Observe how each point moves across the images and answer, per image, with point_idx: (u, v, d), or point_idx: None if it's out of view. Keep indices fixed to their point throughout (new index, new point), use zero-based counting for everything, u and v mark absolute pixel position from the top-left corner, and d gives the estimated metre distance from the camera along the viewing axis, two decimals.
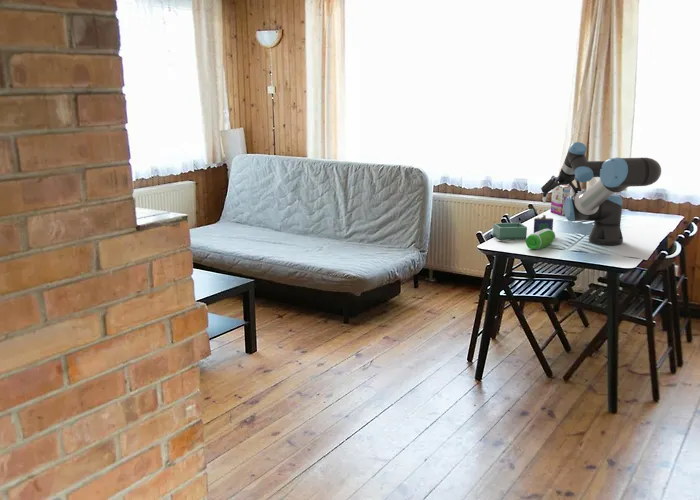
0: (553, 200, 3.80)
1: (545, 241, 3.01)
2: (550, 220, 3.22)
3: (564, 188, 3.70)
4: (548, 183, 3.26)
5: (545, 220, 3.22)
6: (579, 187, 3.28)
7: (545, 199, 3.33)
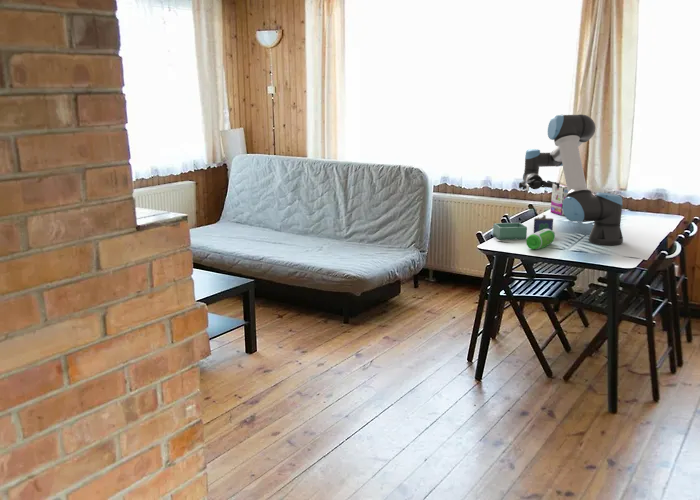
0: (553, 200, 3.80)
1: (545, 241, 3.01)
2: (550, 220, 3.22)
3: (564, 188, 3.70)
4: None
5: (545, 220, 3.22)
6: None
7: (527, 184, 3.31)
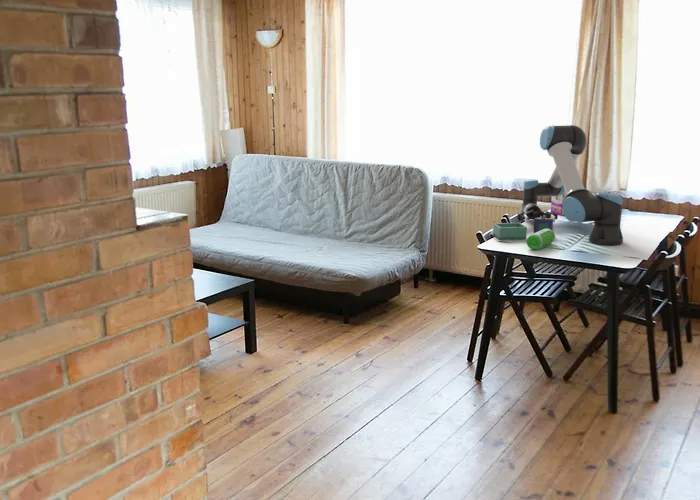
0: (553, 200, 3.80)
1: (546, 241, 3.01)
2: (550, 220, 3.22)
3: None
4: None
5: (545, 220, 3.22)
6: (553, 213, 3.40)
7: (525, 216, 3.33)
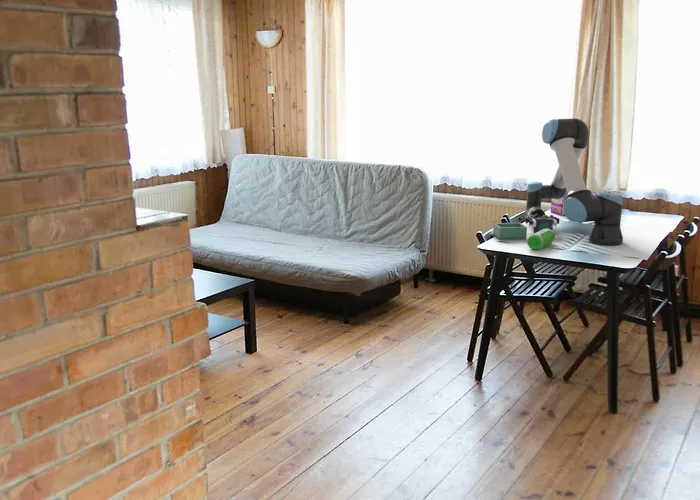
0: (553, 200, 3.80)
1: (546, 241, 3.01)
2: (550, 220, 3.22)
3: None
4: None
5: (545, 220, 3.22)
6: (556, 217, 3.28)
7: (534, 220, 3.21)
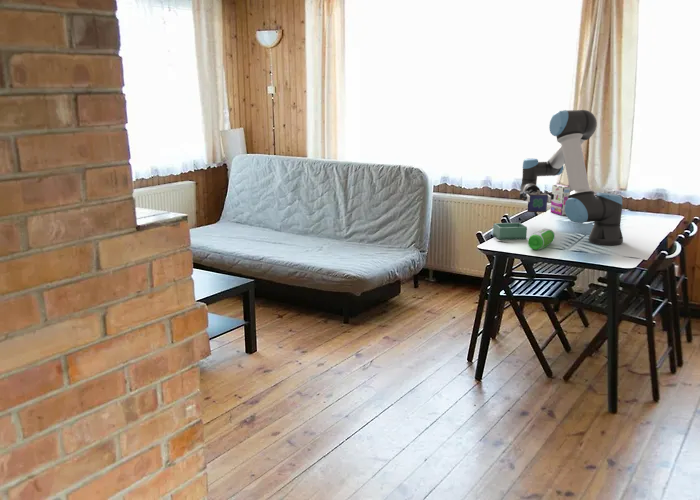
0: (553, 200, 3.80)
1: (547, 241, 3.01)
2: (544, 195, 3.20)
3: (564, 188, 3.70)
4: None
5: (539, 195, 3.20)
6: (550, 193, 3.26)
7: (528, 195, 3.19)
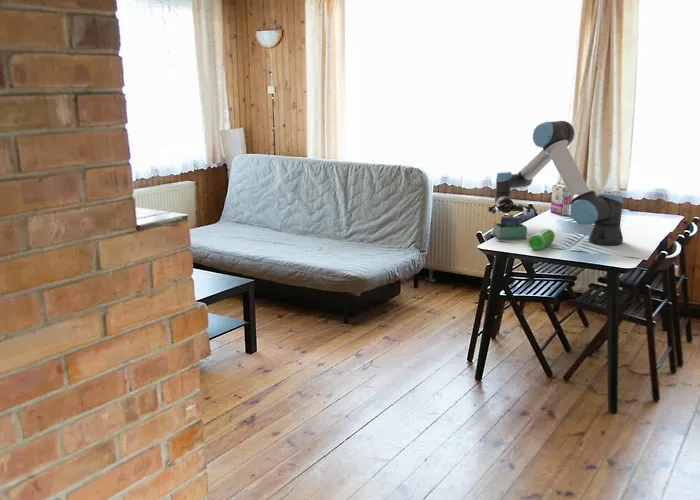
0: (553, 200, 3.80)
1: (547, 241, 3.01)
2: (517, 219, 3.20)
3: (564, 188, 3.70)
4: None
5: (512, 219, 3.20)
6: (526, 206, 3.26)
7: (496, 208, 3.20)
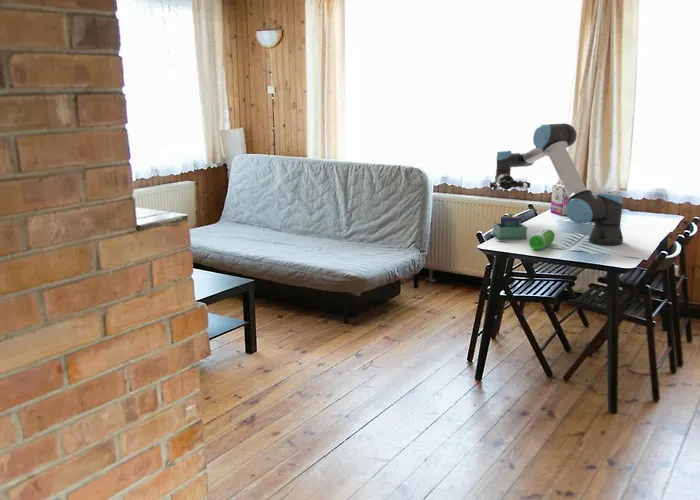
0: (553, 200, 3.80)
1: (547, 241, 3.01)
2: (517, 218, 3.21)
3: (564, 188, 3.70)
4: None
5: (511, 218, 3.21)
6: (526, 182, 3.38)
7: (498, 184, 3.31)
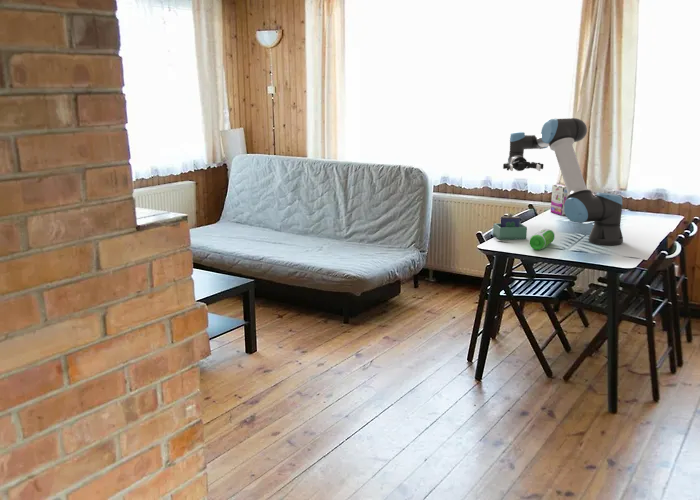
0: (553, 200, 3.80)
1: (548, 241, 3.01)
2: (517, 218, 3.21)
3: (564, 188, 3.70)
4: None
5: (511, 218, 3.21)
6: None
7: (511, 165, 3.33)
